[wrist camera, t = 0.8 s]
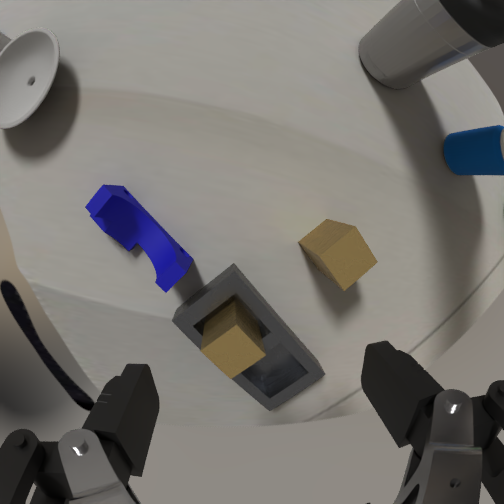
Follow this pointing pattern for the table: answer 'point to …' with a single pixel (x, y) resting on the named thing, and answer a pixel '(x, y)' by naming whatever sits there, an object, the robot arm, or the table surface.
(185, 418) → the table surface
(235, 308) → the beige cube
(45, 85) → the dish
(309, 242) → the wooden toy block
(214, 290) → the grey flat open box
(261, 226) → the table surface
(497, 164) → the beverage can
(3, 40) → the ink box
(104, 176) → the table surface
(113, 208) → the cable clip
